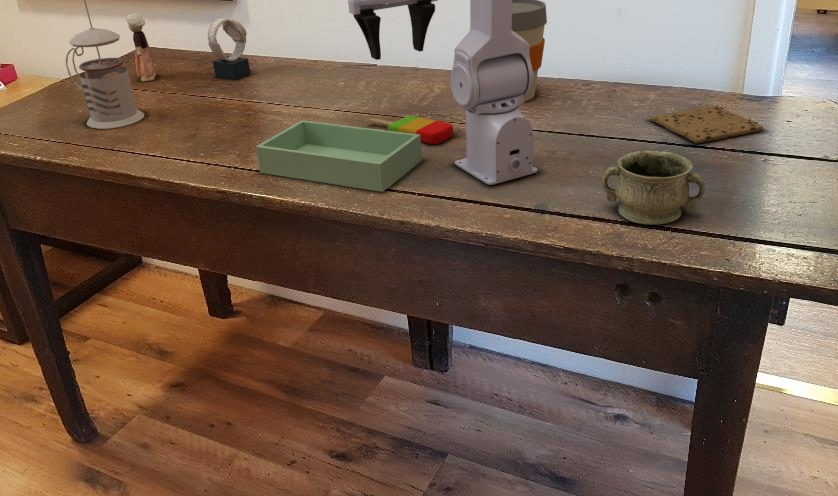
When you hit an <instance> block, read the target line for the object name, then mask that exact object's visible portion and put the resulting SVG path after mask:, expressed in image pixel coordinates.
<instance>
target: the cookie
mask: <svg viewBox="0 0 838 496" xmlns="http://www.w3.org/2000/svg"><path fill="white" fill-rule="evenodd" d="M649 121H651V122H653V123H657V124H658V125H660V126H662V127H664V128H666V129H667V130H669V131H671V132H673V133H675V134H678V135H680V136H683V137H684V138H686V139H688V140H689V141H690V142H693V143H694V144H701V143H707V142H713V141H717V140H723V139H727V138H732V137H737V136H741V135H742V136H743V135H746V134H753V133H758V132H762V131H763V130H764V127H763V125H761V124H759V123H758V122H757V121H753V120H752V119H751V118H746V117H743V116H741V115H738V114H735V113H734V112H731V111H729V110H728V109H725V108H724V107H722V106H721V107H720V106H719V105H713V104H712V105H706V106H701V107H697V108H695V107H693V108H691V109H686V110H680V111H675V112H674V111H673V112H670V113H664V114H658V115H651V116H649Z"/></svg>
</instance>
